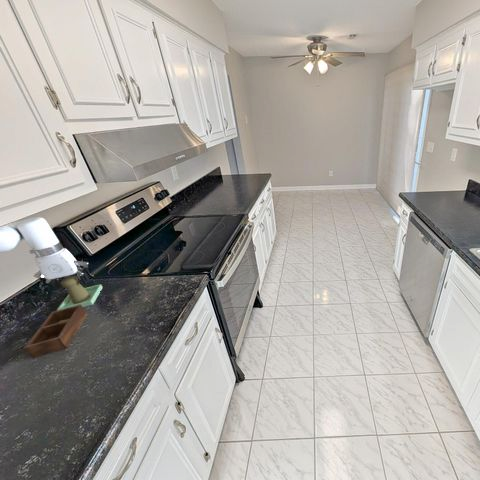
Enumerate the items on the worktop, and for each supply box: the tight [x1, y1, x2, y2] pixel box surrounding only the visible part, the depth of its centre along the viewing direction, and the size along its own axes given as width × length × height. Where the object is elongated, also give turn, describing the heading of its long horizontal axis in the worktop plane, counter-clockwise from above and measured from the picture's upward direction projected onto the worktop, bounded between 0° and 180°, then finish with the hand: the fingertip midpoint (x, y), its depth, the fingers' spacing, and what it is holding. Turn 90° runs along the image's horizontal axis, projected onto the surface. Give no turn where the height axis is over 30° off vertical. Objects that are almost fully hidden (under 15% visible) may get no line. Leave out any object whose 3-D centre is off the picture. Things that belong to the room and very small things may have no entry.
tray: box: [56, 283, 103, 311], centre depth 107 cm, size 11×12×2 cm
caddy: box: [24, 305, 88, 359], centre depth 90 cm, size 9×17×5 cm, turn 22°
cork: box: [60, 275, 91, 304], centre depth 105 cm, size 6×6×11 cm
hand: (72, 285), depth 104 cm, fingers open, 9 cm apart
